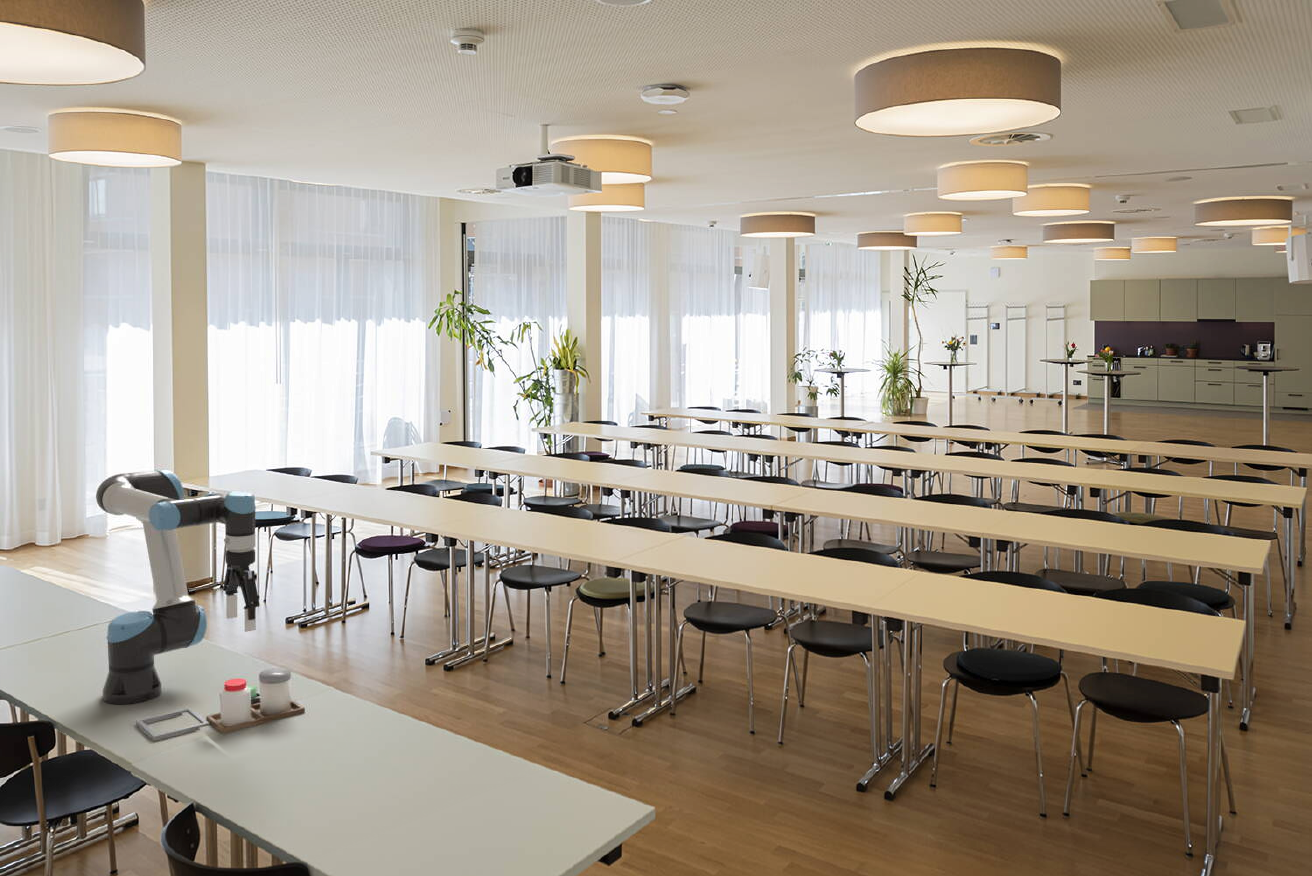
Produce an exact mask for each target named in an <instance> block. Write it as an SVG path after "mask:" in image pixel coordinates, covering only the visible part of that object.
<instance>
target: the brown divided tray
mask: <svg viewBox="0 0 1312 876" xmlns="http://www.w3.org/2000/svg"><path fill="white" fill-rule="evenodd" d="M305 712H306V708H305V707H304V706H302V705H301V704H299V703H298V702H296V701H295V700H294V699H292V698H291V710H290V711H287V712H283V713H279V714H275V715H271V716H263V715H262V714H260V703H256V704H252V705H251V721H248V722H244V723H240V724H236V725H232V726H228V727H227V726H223V725H222V724H221V720H220V712H217V713H213V714H209V715H208V714H207V715H206V718H205V720H207V721H208V722H209V723H210V724H209V725H212V726H213V727H214V728H216V729H217V730H218V731H219V732H220V733H222V735H223V734H227V733H231V732H235V731H239V730H242V729H246V728H251V727H254V726H258V725H263V724H266V723H268V722H273V721H278V720H281V719H284V718H287V717H288V718H289V717H292V716H295V715H299V714H304V713H305Z"/></svg>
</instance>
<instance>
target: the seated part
mask: <svg viewBox="0 0 1312 876" xmlns="http://www.w3.org/2000/svg"><path fill="white" fill-rule="evenodd" d="M291 675H292V674H291V669H288V668H286V667H274V668H268V669H264V670H262V671H261V672H259V673H258V680H259V691H260V714H262V715H263V716H271V715H275V714H279V713H283V712H287V711H290V710H291V699H292V697H291V695H292V694H291V688H292V687H291V678H292V677H291Z"/></svg>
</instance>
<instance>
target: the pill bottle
mask: <svg viewBox="0 0 1312 876" xmlns="http://www.w3.org/2000/svg"><path fill="white" fill-rule="evenodd" d="M223 685H224V687H223V689H221V691H220V693H219V707H220V708H219V709H220V710H219V711H220V712H219V713H220V720H221V724H222V725H223V726H227V727H228V726H232V725H236V724H240V723H244V722H248V721H251V689H250V688H249V687H248V686H249V685H247V679H244V678H231V679H228V680H226V681H224V683H223Z"/></svg>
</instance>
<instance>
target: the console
mask: <svg viewBox="0 0 1312 876" xmlns="http://www.w3.org/2000/svg"><path fill="white" fill-rule="evenodd" d="M256 703H260V689H259V690H258V689H257V697H254V698H251V705H252V704H256Z"/></svg>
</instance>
